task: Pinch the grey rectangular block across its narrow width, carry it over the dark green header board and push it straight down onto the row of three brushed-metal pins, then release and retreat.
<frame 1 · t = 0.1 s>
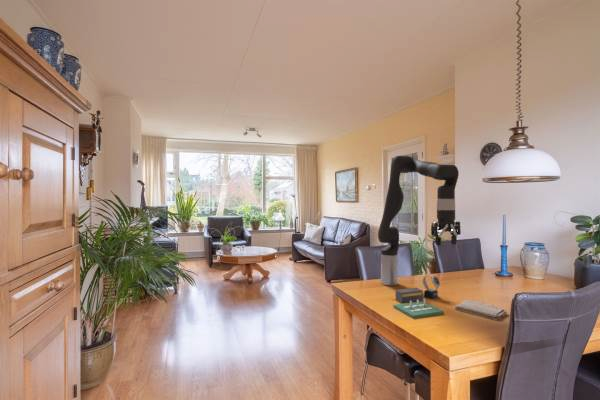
hand: (446, 244, 144), 29 cm above the table, fingers open, 8 cm apart
grey rectangular block: (409, 300, 157), on the table
washcloth: (480, 313, 141), on the table
header board: (417, 310, 143), on the table
watch: (431, 297, 162), on the table
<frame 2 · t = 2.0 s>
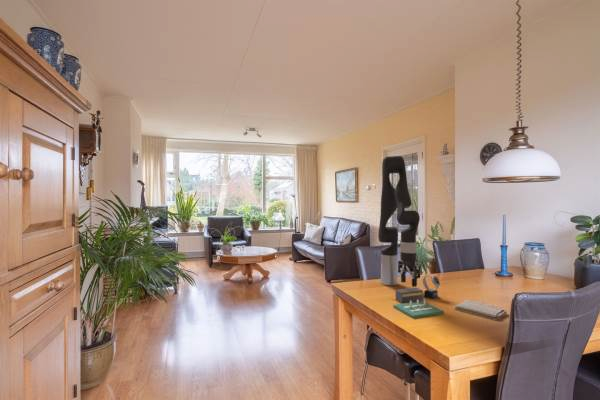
hand: (408, 284, 157), 8 cm above the table, fingers open, 8 cm apart
nothing on the table moved.
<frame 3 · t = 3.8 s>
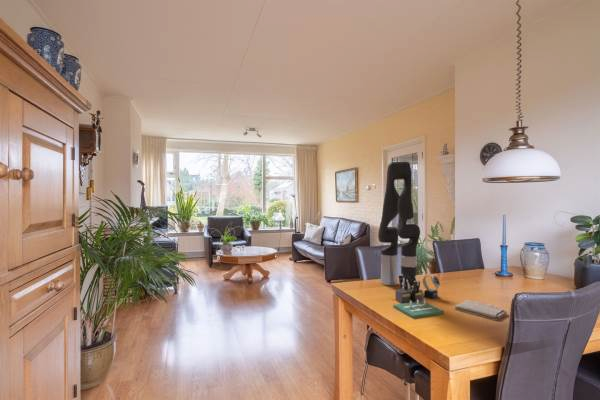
hand: (409, 299, 157), 1 cm above the table, fingers closed on grey rectangular block, 5 cm apart
grey rectangular block: (409, 300, 157), on the table, touching gripper
everything else where it was.
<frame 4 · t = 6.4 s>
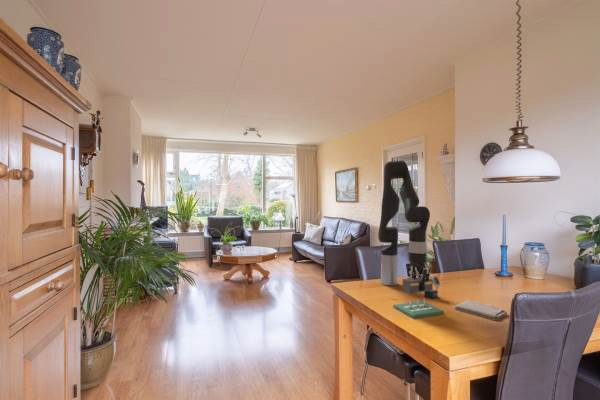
hand: (417, 288, 143), 10 cm above the table, fingers closed on grey rectangular block, 5 cm apart
grey rectangular block: (417, 290, 143), point 9 cm above the table, touching gripper
everything else where it was.
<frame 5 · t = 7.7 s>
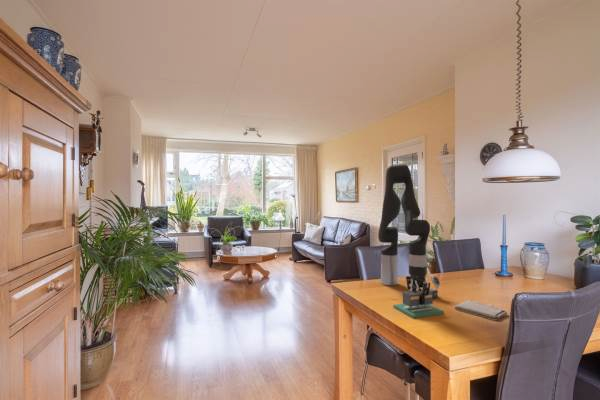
hand: (417, 302, 143), 4 cm above the table, fingers closed on grey rectangular block, 5 cm apart
grey rectangular block: (417, 303, 143), point 3 cm above the table, touching gripper
everything else where it was.
when the fingers open (3 cm above the table, at t = 9.1 s): grey rectangular block drops 1 cm, resting on header board.
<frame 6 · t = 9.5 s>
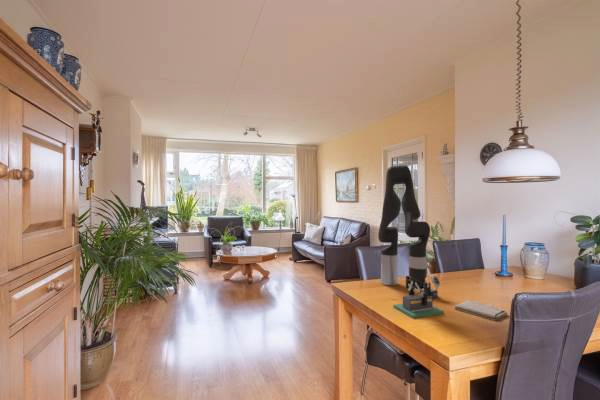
hand: (417, 302, 143), 4 cm above the table, fingers open, 8 cm apart
grey rectangular block: (417, 307, 143), point 1 cm above the table, touching header board
everything else where it was.
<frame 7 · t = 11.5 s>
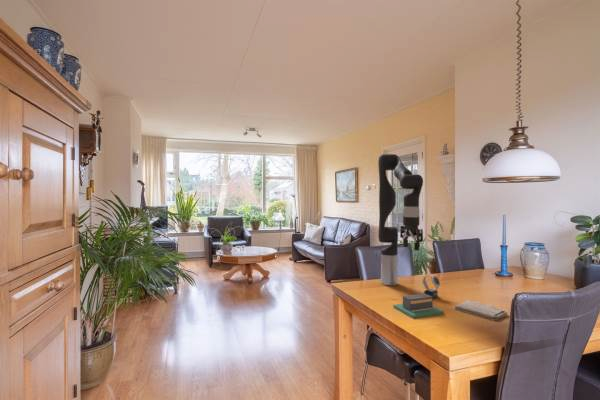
hand: (411, 248, 156), 26 cm above the table, fingers open, 8 cm apart
nothing on the table moved.
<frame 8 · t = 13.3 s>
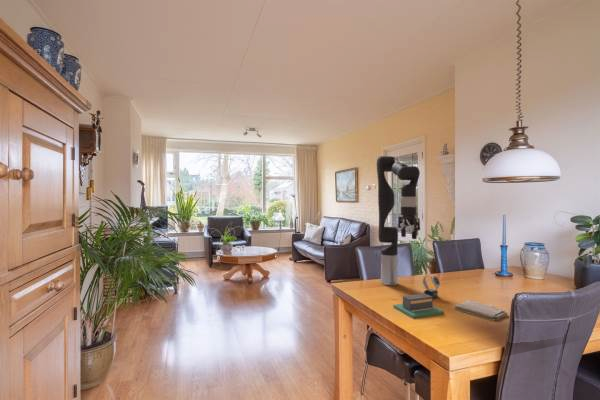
hand: (408, 237, 162), 30 cm above the table, fingers open, 8 cm apart
nothing on the table moved.
at the end: grey rectangular block 0.1 cm off-centre on the header board, point 1.3 cm above the header board's base; grey rectangular block tilted 0°; the gripper is holding nothing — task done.
